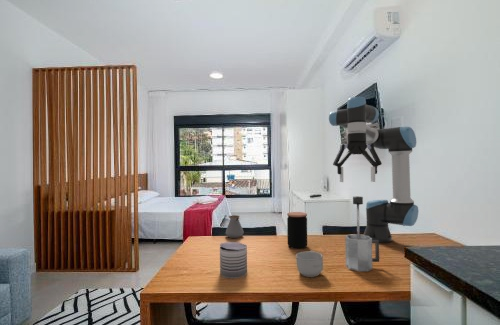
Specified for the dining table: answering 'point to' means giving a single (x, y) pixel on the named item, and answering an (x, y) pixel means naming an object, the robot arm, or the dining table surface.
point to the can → (233, 260)
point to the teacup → (309, 263)
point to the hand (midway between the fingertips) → (357, 181)
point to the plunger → (358, 201)
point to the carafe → (360, 252)
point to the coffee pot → (234, 227)
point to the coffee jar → (297, 230)
